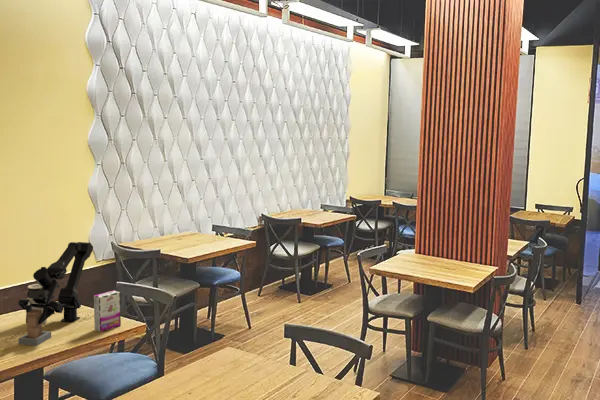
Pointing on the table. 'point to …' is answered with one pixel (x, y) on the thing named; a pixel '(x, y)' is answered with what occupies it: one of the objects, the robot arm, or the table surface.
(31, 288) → the travel mug
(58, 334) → the table surface
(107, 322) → the candy bar box
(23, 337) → the slotted holder
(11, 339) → the table surface
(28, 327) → the walnut post
